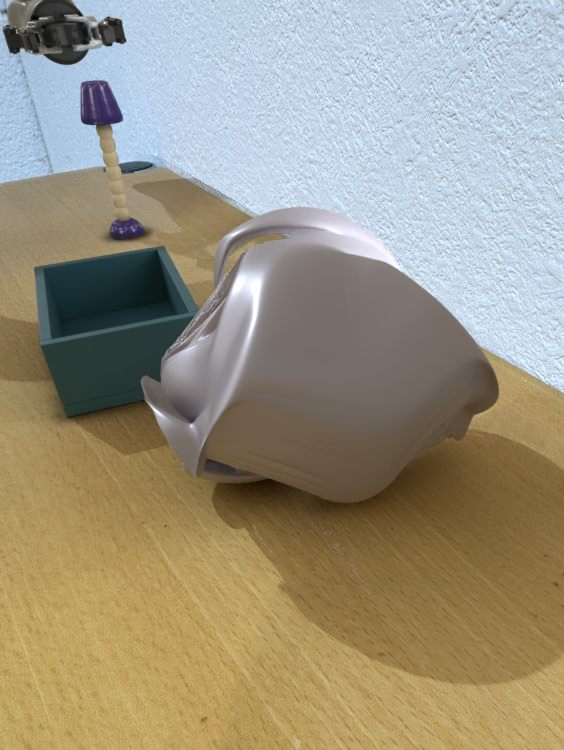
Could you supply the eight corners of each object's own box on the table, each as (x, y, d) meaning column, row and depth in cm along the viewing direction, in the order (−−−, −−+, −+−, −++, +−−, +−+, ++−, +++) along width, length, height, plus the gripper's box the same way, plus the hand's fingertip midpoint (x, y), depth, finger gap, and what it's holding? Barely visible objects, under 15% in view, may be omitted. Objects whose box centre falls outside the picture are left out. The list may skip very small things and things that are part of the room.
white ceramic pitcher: (193, 593, 40) (158, 391, 29) (137, 402, 50) (96, 199, 39) (493, 511, 46) (558, 321, 35) (389, 357, 57) (414, 172, 46)
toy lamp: (133, 225, 90) (97, 77, 80) (157, 231, 88) (122, 79, 78) (103, 236, 87) (61, 83, 77) (126, 242, 85) (86, 85, 75)
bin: (55, 329, 66) (33, 266, 62) (177, 306, 69) (164, 245, 65) (66, 417, 53) (40, 345, 49) (216, 384, 56) (201, 314, 53)
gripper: (-10, -1, 90) (-5, 5, 79) (102, -8, 95) (123, -4, 83) (12, 67, 95) (20, 82, 84) (117, 56, 100) (139, 69, 88)
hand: (71, 39), depth 83 cm, fingers open, 8 cm apart
